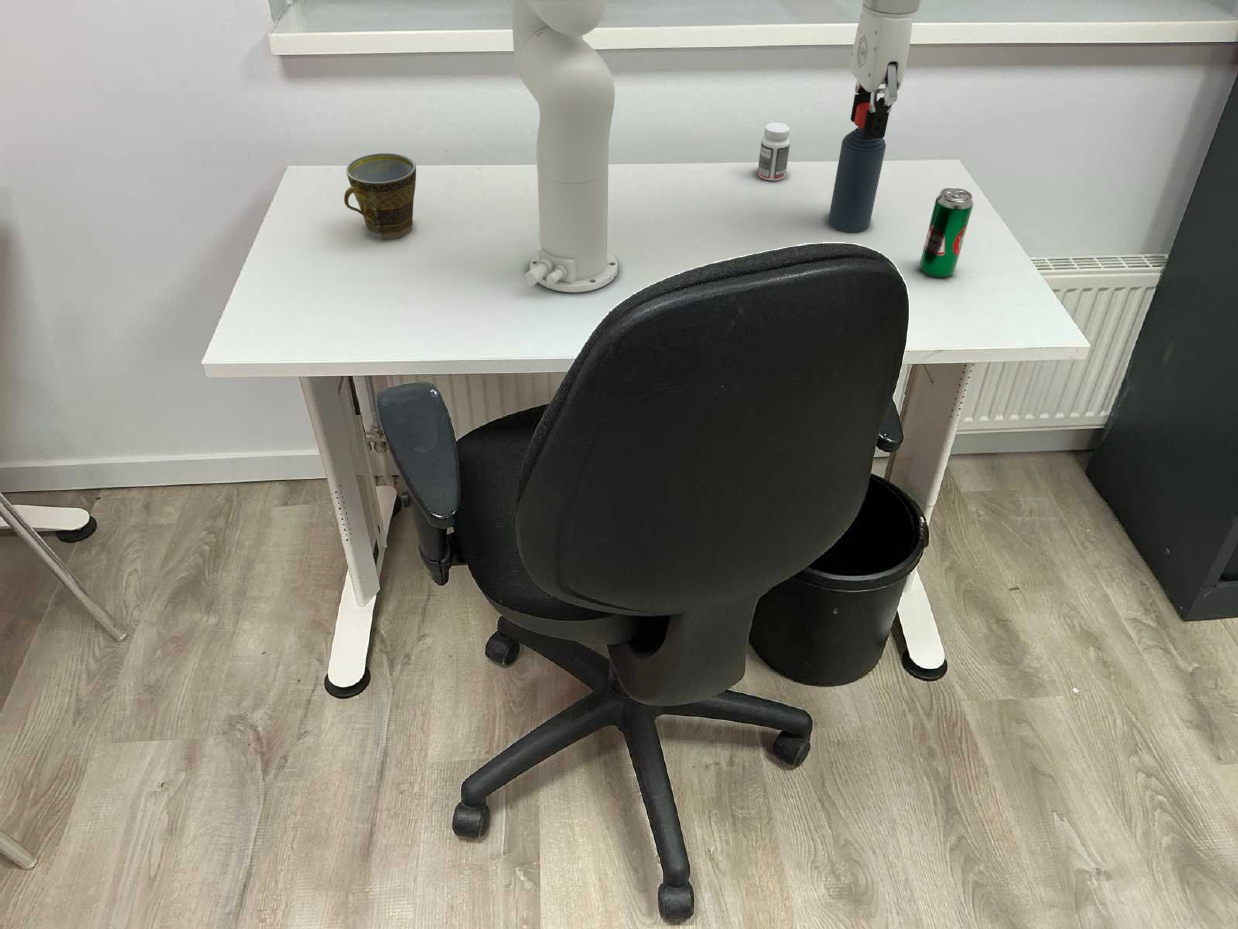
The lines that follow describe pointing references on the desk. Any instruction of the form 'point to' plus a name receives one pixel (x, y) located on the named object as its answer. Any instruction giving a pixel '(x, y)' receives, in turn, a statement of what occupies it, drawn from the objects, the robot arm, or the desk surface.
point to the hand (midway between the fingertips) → (867, 127)
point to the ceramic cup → (383, 193)
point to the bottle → (856, 182)
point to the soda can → (946, 232)
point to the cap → (861, 114)
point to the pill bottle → (774, 152)
